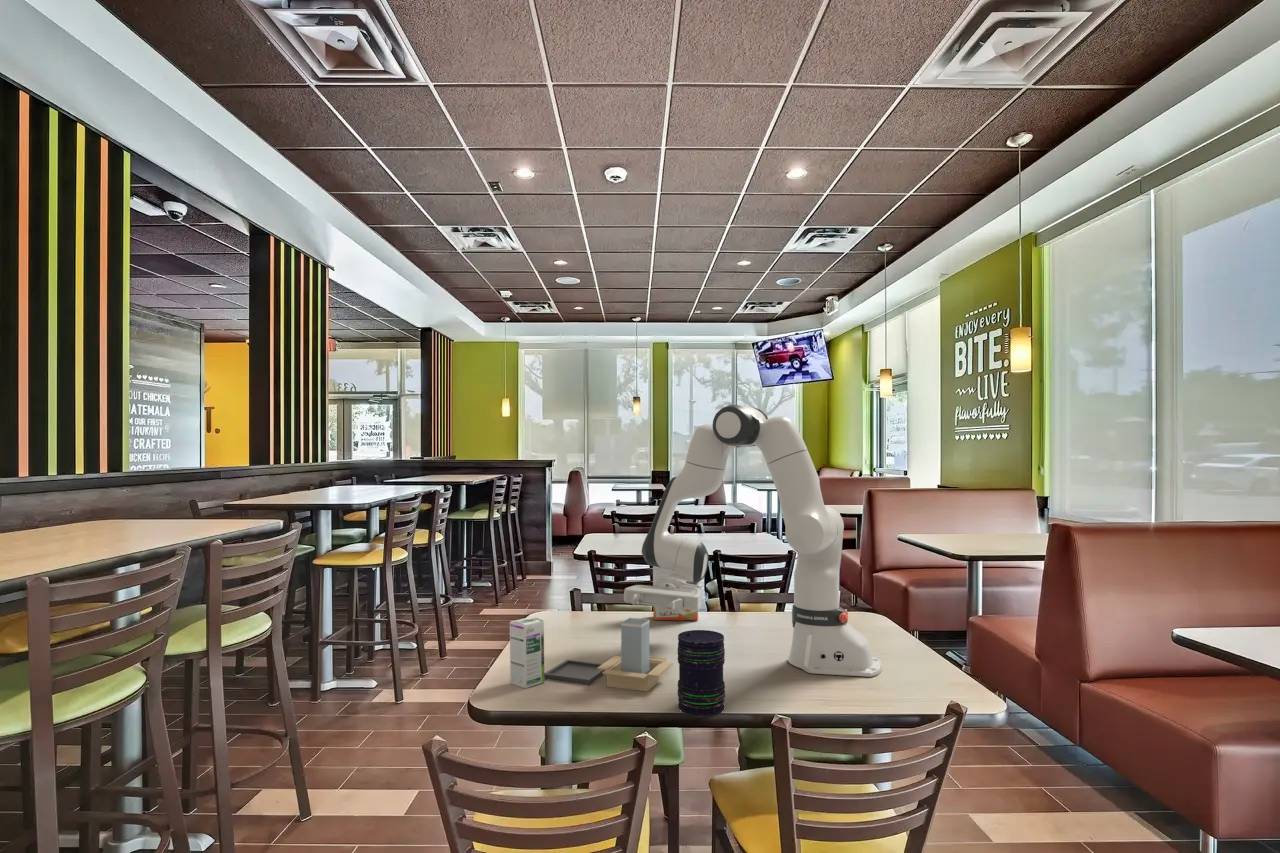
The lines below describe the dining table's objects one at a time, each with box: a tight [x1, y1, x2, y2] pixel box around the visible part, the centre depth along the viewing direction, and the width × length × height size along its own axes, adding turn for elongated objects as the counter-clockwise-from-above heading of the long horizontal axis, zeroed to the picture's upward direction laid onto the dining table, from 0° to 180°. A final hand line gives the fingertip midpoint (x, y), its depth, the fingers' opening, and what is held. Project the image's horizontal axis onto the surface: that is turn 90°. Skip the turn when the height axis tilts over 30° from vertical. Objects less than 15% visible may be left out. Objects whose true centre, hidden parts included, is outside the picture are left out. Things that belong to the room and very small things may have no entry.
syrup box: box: [509, 616, 546, 689], centre depth 165 cm, size 6×6×14 cm
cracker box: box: [652, 566, 699, 622], centre depth 226 cm, size 14×6×21 cm, turn 84°
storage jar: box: [677, 629, 726, 718], centre depth 149 cm, size 10×10×15 cm
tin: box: [620, 617, 651, 674], centre depth 166 cm, size 5×5×14 cm
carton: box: [597, 655, 674, 692], centre depth 166 cm, size 15×15×4 cm
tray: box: [544, 658, 605, 686], centre depth 171 cm, size 12×12×1 cm
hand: (652, 603), depth 177 cm, fingers open, 8 cm apart
